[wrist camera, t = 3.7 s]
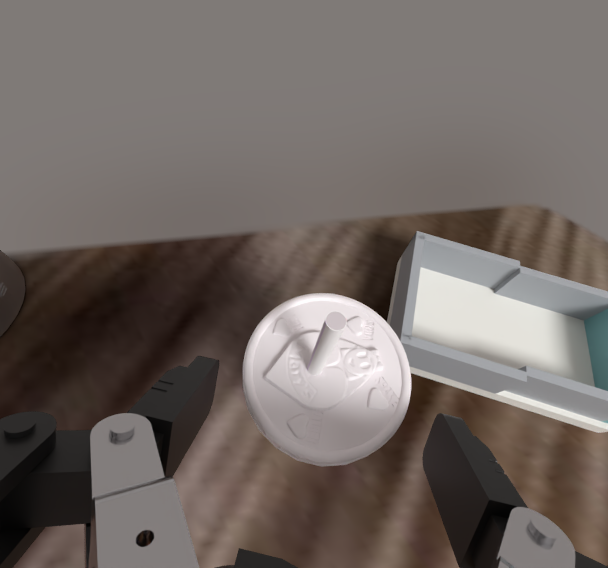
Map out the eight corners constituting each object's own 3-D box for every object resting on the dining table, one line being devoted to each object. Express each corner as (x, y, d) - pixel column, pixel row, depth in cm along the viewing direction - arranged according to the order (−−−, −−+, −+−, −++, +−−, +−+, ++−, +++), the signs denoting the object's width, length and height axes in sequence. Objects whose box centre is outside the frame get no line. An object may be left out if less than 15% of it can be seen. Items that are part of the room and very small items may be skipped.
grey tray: (379, 362, 23) (400, 342, 19) (397, 262, 27) (417, 230, 24) (597, 432, 22) (660, 424, 18) (578, 316, 26) (626, 292, 23)
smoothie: (245, 368, 21) (220, 230, 9) (340, 354, 23) (425, 213, 11) (257, 482, 18) (242, 491, 6) (366, 458, 20) (528, 427, 7)
